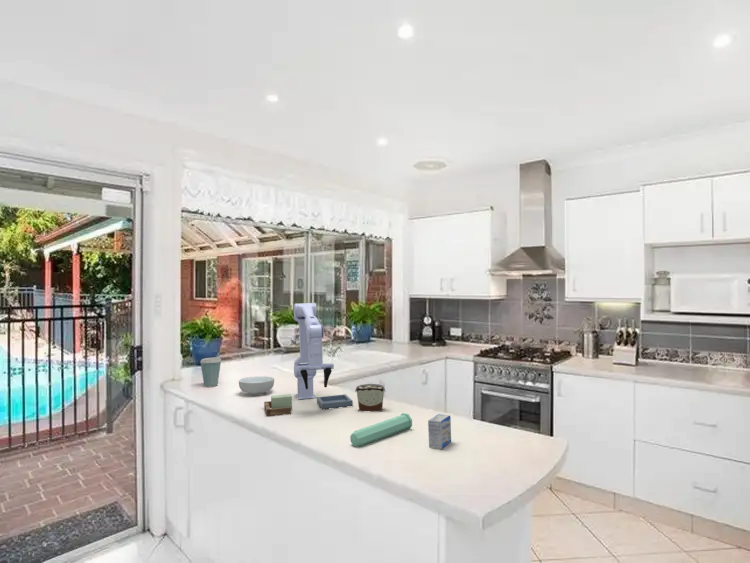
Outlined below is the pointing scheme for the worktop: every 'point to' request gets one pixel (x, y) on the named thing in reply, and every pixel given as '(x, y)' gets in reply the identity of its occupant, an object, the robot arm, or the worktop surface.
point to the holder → (275, 410)
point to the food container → (370, 397)
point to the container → (381, 430)
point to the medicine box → (439, 431)
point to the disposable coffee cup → (210, 371)
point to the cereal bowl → (256, 384)
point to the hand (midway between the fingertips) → (316, 387)
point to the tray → (334, 401)
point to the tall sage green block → (281, 401)
